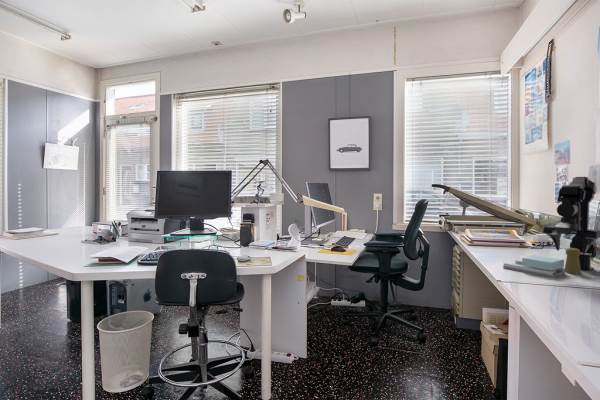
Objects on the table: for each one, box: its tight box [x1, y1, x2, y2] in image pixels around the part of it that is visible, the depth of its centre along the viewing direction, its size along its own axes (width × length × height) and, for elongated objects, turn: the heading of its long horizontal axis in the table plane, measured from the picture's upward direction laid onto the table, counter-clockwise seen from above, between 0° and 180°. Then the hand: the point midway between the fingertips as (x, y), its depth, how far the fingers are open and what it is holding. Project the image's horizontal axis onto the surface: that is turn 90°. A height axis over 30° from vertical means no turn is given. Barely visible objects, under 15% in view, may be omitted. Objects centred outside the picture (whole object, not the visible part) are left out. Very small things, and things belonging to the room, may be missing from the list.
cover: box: [521, 255, 565, 271], centre depth 149 cm, size 12×12×4 cm
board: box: [502, 259, 565, 278], centre depth 152 cm, size 12×20×2 cm, turn 30°
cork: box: [564, 247, 582, 275], centre depth 148 cm, size 6×6×11 cm
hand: (570, 252), depth 139 cm, fingers open, 9 cm apart
